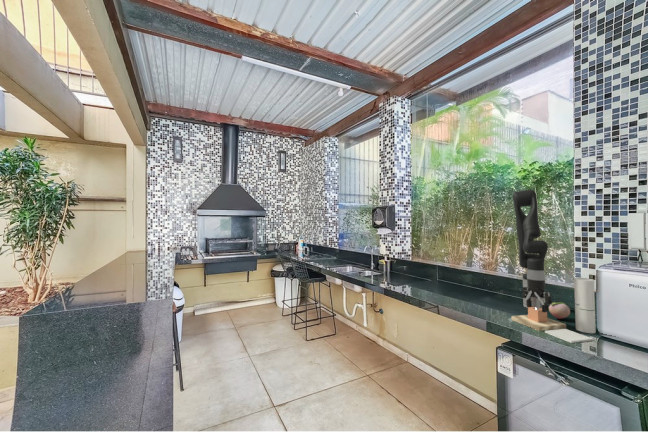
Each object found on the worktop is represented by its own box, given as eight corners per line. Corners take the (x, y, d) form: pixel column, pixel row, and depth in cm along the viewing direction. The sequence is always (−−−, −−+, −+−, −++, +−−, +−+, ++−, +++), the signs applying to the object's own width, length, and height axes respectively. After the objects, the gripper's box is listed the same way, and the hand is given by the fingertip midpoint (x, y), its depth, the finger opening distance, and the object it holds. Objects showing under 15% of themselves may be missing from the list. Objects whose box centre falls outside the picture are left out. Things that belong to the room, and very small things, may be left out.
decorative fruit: (562, 323, 146) (561, 303, 147) (546, 317, 154) (545, 299, 155) (574, 321, 149) (574, 302, 149) (558, 316, 157) (557, 298, 157)
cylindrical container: (585, 327, 140) (583, 277, 141) (600, 333, 133) (598, 280, 133) (571, 327, 140) (570, 277, 140) (585, 333, 133) (583, 280, 133)
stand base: (536, 317, 155) (536, 314, 155) (566, 328, 139) (566, 324, 139) (511, 319, 152) (511, 316, 152) (539, 331, 136) (539, 326, 136)
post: (537, 319, 147) (537, 306, 147) (541, 320, 145) (540, 308, 145) (534, 319, 146) (533, 307, 146) (537, 320, 144) (537, 308, 144)
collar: (537, 317, 149) (536, 306, 149) (547, 321, 143) (546, 309, 143) (528, 318, 148) (527, 307, 148) (538, 322, 142) (537, 310, 142)
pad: (565, 330, 137) (565, 328, 137) (593, 340, 125) (593, 338, 125) (545, 332, 134) (544, 330, 134) (571, 343, 123) (571, 341, 123)
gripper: (555, 280, 140) (556, 313, 139) (529, 275, 154) (530, 305, 153) (542, 281, 138) (543, 314, 138) (518, 276, 152) (518, 306, 152)
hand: (536, 309), depth 145 cm, fingers open, 8 cm apart
